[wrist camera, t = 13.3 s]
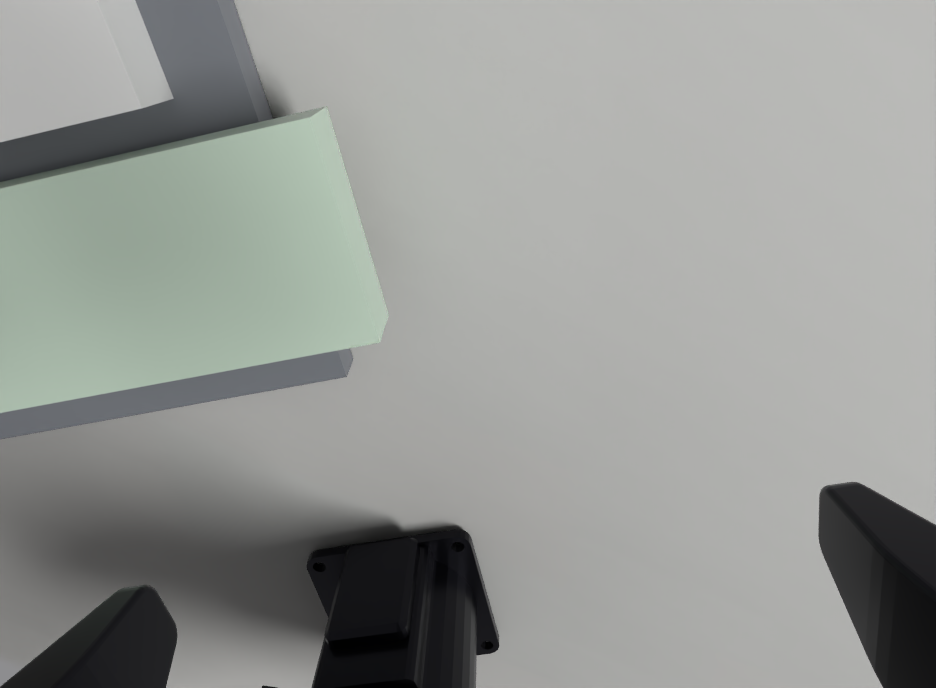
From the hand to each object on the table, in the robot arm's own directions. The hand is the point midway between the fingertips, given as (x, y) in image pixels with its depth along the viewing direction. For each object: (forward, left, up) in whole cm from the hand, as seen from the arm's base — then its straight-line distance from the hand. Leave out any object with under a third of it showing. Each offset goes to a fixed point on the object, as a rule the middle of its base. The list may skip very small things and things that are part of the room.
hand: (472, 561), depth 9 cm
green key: (+2, +9, -13) cm, 16 cm away
